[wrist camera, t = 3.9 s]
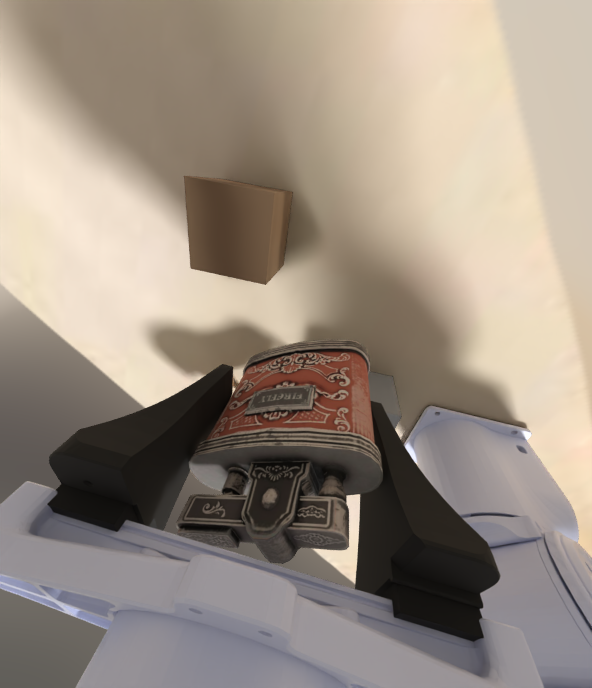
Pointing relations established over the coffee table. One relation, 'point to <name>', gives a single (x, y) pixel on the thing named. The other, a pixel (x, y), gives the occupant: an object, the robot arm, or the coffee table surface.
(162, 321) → the coffee table surface
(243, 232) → the walnut block
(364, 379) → the lighter
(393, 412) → the gray block
